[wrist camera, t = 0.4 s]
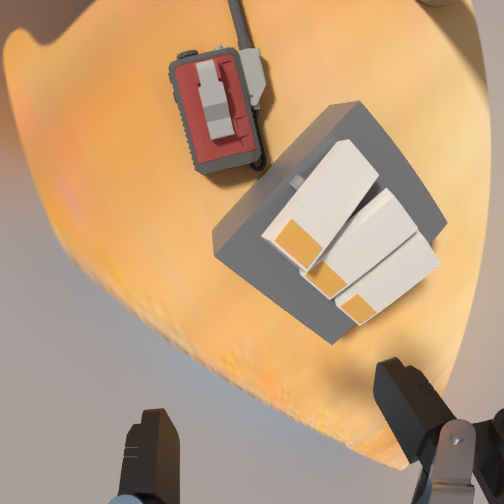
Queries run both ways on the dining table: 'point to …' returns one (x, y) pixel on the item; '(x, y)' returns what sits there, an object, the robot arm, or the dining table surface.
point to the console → (283, 189)
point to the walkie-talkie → (221, 101)
